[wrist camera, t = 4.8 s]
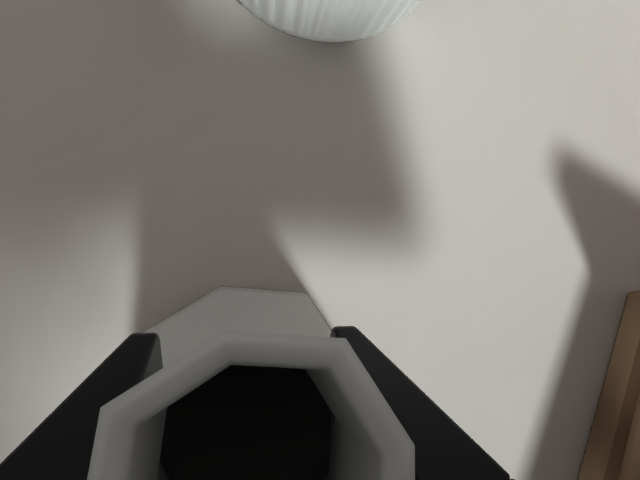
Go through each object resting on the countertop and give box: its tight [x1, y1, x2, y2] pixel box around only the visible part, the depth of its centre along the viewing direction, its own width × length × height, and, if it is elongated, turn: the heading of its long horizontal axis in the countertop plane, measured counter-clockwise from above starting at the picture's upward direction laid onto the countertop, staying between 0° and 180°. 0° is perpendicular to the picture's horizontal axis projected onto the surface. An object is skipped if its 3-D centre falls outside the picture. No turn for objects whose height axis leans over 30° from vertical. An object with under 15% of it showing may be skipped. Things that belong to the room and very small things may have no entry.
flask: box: [87, 286, 415, 480], centre depth 9 cm, size 7×7×10 cm
